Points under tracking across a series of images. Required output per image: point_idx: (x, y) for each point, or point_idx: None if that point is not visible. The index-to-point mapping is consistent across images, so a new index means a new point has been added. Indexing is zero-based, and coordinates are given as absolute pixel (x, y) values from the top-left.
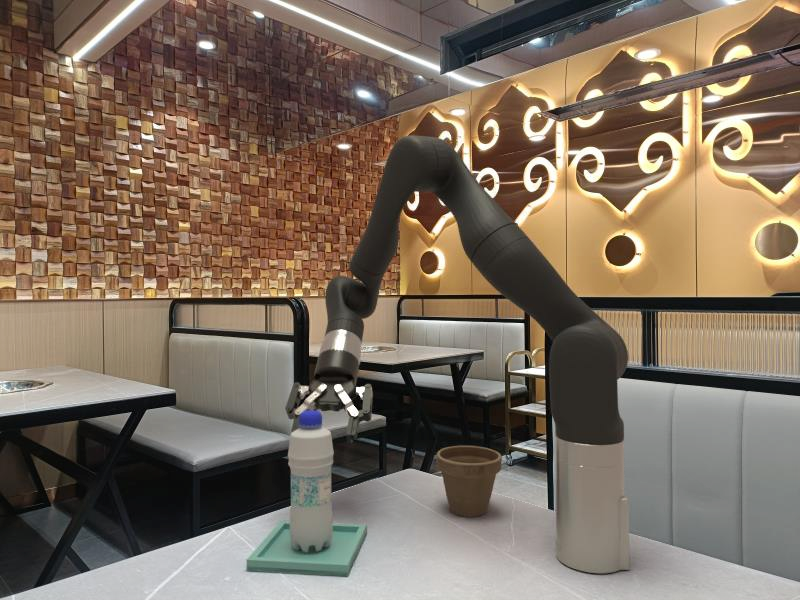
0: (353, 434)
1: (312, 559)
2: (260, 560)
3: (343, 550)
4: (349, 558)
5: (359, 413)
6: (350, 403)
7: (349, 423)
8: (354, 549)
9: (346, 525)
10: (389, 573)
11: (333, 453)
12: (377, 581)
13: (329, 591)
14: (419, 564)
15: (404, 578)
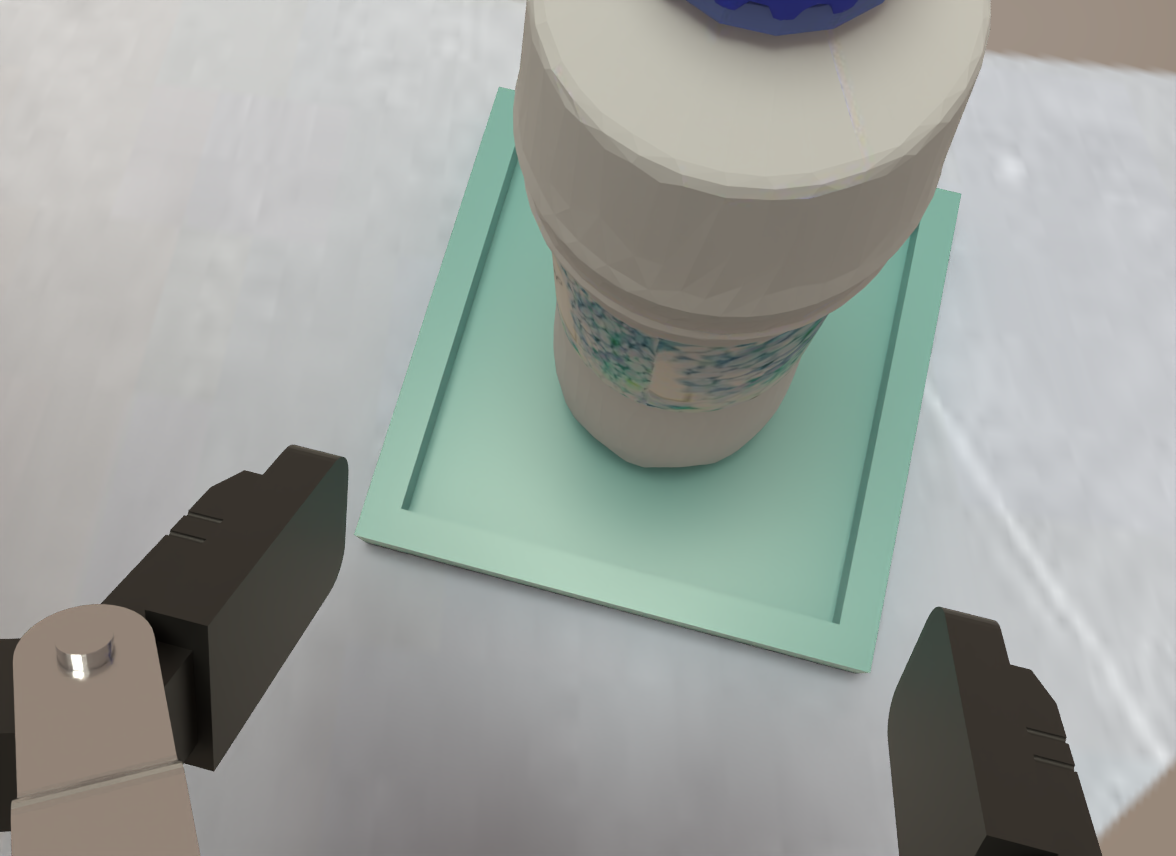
0: (246, 479)
1: None
2: None
3: (507, 307)
4: (485, 146)
5: (5, 684)
6: (60, 788)
7: (243, 547)
8: (454, 230)
9: (472, 536)
10: (325, 121)
11: (517, 79)
12: (385, 66)
13: None
14: (178, 179)
15: (272, 75)
